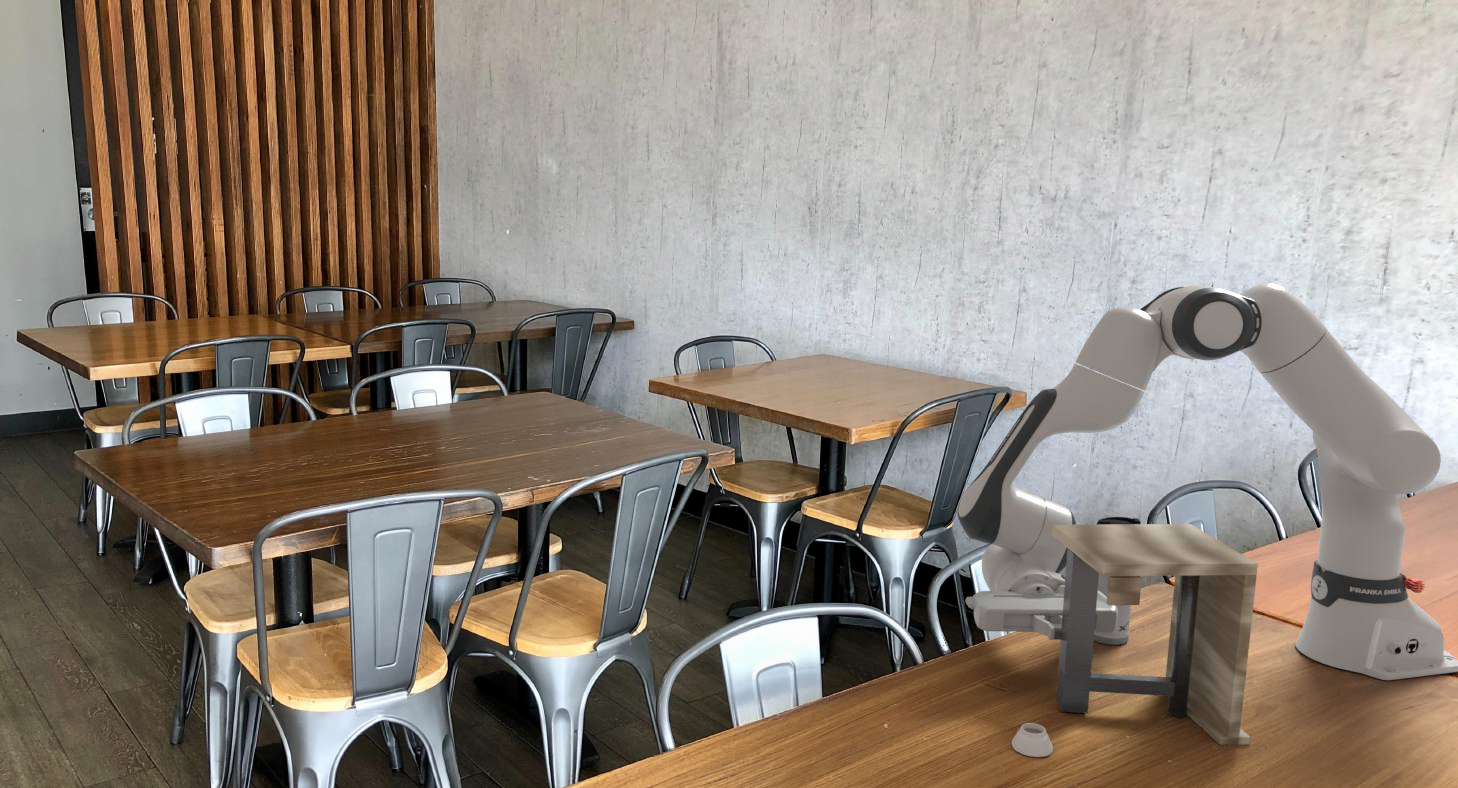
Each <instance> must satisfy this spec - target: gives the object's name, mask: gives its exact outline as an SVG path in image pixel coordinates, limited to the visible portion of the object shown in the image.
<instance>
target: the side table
mask: <svg viewBox="0 0 1458 788" xmlns="http://www.w3.org/2000/svg"><path fill="white" fill-rule="evenodd" d="M1052 536H1054V537H1055V538H1056V539H1057V540H1059V541H1060V542H1061V543H1062V544H1063V545H1065V546H1066V547H1067V548H1068V549H1070V550H1071V551H1072V552H1073V553H1075V554H1076V555H1077V556H1078V557H1080V558H1081V559H1082V560H1083V561H1085V562H1086V563H1087V564H1088V565H1089V566H1091V567H1092V568H1093V569H1094V570H1096V571H1097V572H1098V573H1099V574H1101V575H1102V576H1109V579H1108V591H1107V603H1106V604H1107V605H1131V606H1140V602H1141V593H1142V592H1141V590H1142V577H1149V576H1151V577H1152V576H1153V577H1158V576H1160V577H1164V576H1166V577H1167V576H1170V577H1171V576H1172V577H1174V586H1173V595H1172V607H1171V616H1170V618H1171V619H1170V628H1169V639H1168V646H1167V647H1168V648H1167V649H1168V650H1167V657H1166V658H1167V660H1166V672H1165V677H1171V669H1172V658H1173V648H1174V637H1175V627H1176V616H1177V605H1178V595H1179V584H1180V576H1184V575H1200V581H1199V591H1198V601H1197V611H1196V622H1195V632H1194V642H1193V652H1192V662H1191V673H1190V683H1189V693H1188V703H1187V714H1186V716H1188V717H1190V719H1191V720H1193V721H1194V723H1196V724H1197V725H1198V726H1199V727H1200V728H1201V727H1202V728H1203V729H1204V730H1203V731H1204V732H1206V733H1207V734H1208V733H1209V734H1208V735H1209V736H1210V738H1212V739H1213V740H1214V741H1215V742H1216V743H1217V744H1218V745H1220V746H1226V744H1227V746H1237V745H1238V746H1239V745H1240V746H1241V745H1250V744H1251V743H1250V742H1251V736H1249V734H1248V733H1246V732H1245V730H1244V729H1242V728H1241V724H1242V717H1243V716H1242V715H1243V705H1244V696H1245V687H1246V678H1247V677H1246V676H1247V668H1248V660H1249V652H1250V651H1249V650H1250V640H1251V633H1252V632H1251V631H1252V620H1253V614H1254V602H1255V592H1256V584H1257V576H1258V575H1257V574H1258V567H1259V563H1258V562H1256V561H1254V560H1253V559H1251V558H1249V557H1247V556H1246V555H1244V554H1243V553H1241V552H1239V551H1237V550H1236V549H1234V548H1233V547H1230V546H1229V545H1227V544H1225V543H1224V542H1221V541H1220V540H1218V539H1217V538H1215V537H1213V536H1212V535H1210V534H1209V533H1206V532H1204V531H1203V530H1202V529H1200V528H1198V527H1196V526H1194V525H1192V524H1191V523H1167V524H1166V523H1158V524H1157V523H1154V524H1153V523H1152V524H1151V523H1150V524H1149V523H1147V524H1146V523H1145V524H1144V523H1143V524H1142V523H1141V524H1106V525H1097V524H1076V525H1053V526H1052ZM1202 728H1201V729H1202Z"/></svg>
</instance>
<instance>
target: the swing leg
mask: <svg viewBox="0 0 1458 788" xmlns="http://www.w3.org/2000/svg"><path fill="white" fill-rule="evenodd" d="M1065 575H1066V576H1065V589H1064V602H1063V615H1062V629H1061V640H1060V645H1059V659H1058V671H1057V684H1056V685H1057V686H1056V697H1055V701H1056V703H1057V705H1058V707H1059V709H1060V712H1064V713H1065V712H1066V713H1077V714H1078V713H1081V714H1089V713H1088V712H1089V702H1090V692H1091V693H1095V692H1096V693H1108V694H1109V693H1110V694H1124V695H1125V694H1126V695H1127V694H1129V695H1130V694H1131V695H1141V696H1142V695H1143V696H1161V697H1162V696H1163V697H1168V696H1169V697H1168V703H1167V713H1168V714H1170V715H1172V716H1175V717H1186V716H1187V703H1188V693H1189V683H1190V673H1191V662H1192V652H1193V642H1194V632H1195V622H1196V611H1197V601H1198V591H1199V581H1200V575H1184V576H1180V584H1179V595H1178V605H1177V616H1176V627H1175V637H1174V648H1173V658H1172V669H1171V677H1166V676H1153V675H1150V676H1149V675H1133V674H1115V673H1113V674H1112V673H1099V672H1092V665H1093V664H1092V663H1093V655H1094V654H1093V653H1094V642H1095V641H1094V629H1095V617H1096V604H1097V592H1098V580H1099V573H1098V572H1097V571H1096V570H1094V569H1093V568H1092V567H1091V566H1089V565H1088V564H1087V563H1086V562H1085V561H1083V560H1082V559H1081V558H1080V557H1078V556H1077V555H1076V554H1075V553H1073V552H1072V551H1071V550H1070V549H1067V562H1066V567H1065Z"/></svg>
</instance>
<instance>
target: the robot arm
mask: <svg viewBox="0 0 1458 788" xmlns="http://www.w3.org/2000/svg"><path fill="white" fill-rule="evenodd" d="M1237 352H1242V354H1244V355H1245V356H1246V357H1247V358H1248V359H1249V360H1250V362H1251V363H1252V365H1253V366H1254V367H1255V368H1256V369H1257V371H1258V372H1259V373H1260V374H1261V375H1262V377H1263V378H1264V380H1266V382H1267V383H1268V384H1269V385H1270V386H1271V388H1273V390H1274V391H1275V393H1277V395H1278V396H1279V397H1280V398H1281V400H1282V401H1283V402H1284V404H1286V405H1287V407H1288V408H1289V409H1290V410H1291V411H1292V412H1293V414H1294V415H1296V416H1297V417H1298V418H1299V419H1300V420H1301V421H1302V422H1303V423H1305V425H1306V426H1307V427H1308V428H1309V429H1310V430H1311V431H1312V440H1313V442H1314V445H1315V448H1316V449H1315V450H1316V453H1317V460H1318V461H1317V462H1318V475H1319V476H1318V477H1319V487H1320V496H1321V523H1320V532H1319V541H1318V542H1319V543H1318V550H1317V559H1316V560H1314V561H1313V566H1312V567H1313V569H1312V574H1311V584H1310V586H1311V587H1310V594H1311V595H1310V596H1311V598H1310V602H1309V606H1308V610H1307V614H1306V618H1305V620H1304V624H1303V626H1302V629H1301V630H1300V632H1299V635H1298V638H1297V640H1296V641H1295V643H1294V644H1295V645H1294V646H1295V648H1296V649H1297V650H1298V651H1299V652H1300V653H1302V654H1303V655H1305V656H1306V657H1308V658H1310V659H1311V660H1314V661H1315V662H1319V663H1321V664H1324V665H1326V666H1329V667H1332V668H1337V669H1341V670H1345V671H1350V672H1355V673H1358V674H1363V675H1365V676H1369V677H1372V678H1376V679H1378V680H1383V681H1394V680H1401V679H1402V680H1403V679H1410V678H1416V677H1417V678H1418V677H1425V676H1434V675H1441V674H1450V673H1458V659H1457V657H1455V656H1454V655H1453V654H1452V653H1450V652H1448V651H1447V650H1446V649H1445V639H1444V633H1443V629H1442V627H1441V626H1440V624H1439V622H1437V620H1436V619H1434V618H1433V617H1432V616H1430V615H1429V614H1428V612H1426V611H1425V610H1423V609H1422V608H1421V607H1420V606H1418V605H1417V604H1416V603H1415V602H1414V601H1413V600H1411V599H1410V598H1409V595H1408V591H1407V590H1410V591H1412V592H1413V593H1415V594H1420V593H1422V592H1423V591H1424V590H1425V587H1426V585H1425V584H1426V583H1424V581H1423V580H1420V579H1418V578H1416V577H1414V576H1409V577H1407V576H1406V575H1404V574H1403V573H1402V572H1400V571H1401V564H1402V558H1403V549H1404V541H1405V534H1406V524H1405V519H1404V517H1403V515H1402V511H1401V508H1400V504H1399V496H1398V495H1408V494H1412V493H1413V494H1414V493H1416V492H1419V491H1422V490H1423V489H1425V488H1427V487H1428V486H1429V485H1430V484H1431V483H1432V482H1433V481H1434V480H1435V478H1436V477H1437V475H1438V474H1439V471H1440V468H1441V461H1442V460H1441V453H1440V449H1439V447H1438V445H1437V443H1436V442H1435V441H1434V440H1433V439H1432V438H1431V436H1430V435H1428V433H1427V432H1425V431H1424V430H1423V429H1422V428H1421V427H1420V426H1419V425H1418V424H1417V422H1415V421H1414V419H1413V418H1412V417H1410V416H1409V414H1408V413H1407V412H1406V411H1405V410H1404V409H1403V408H1402V407H1400V405H1399V404H1398V403H1397V402H1396V401H1394V399H1393V398H1392V397H1391V396H1390V395H1389V394H1388V393H1387V392H1385V390H1384V389H1382V388H1381V387H1380V386H1379V384H1377V383H1376V382H1375V381H1374V380H1373V379H1372V378H1370V376H1369V375H1367V373H1366V372H1365V371H1363V370H1362V369H1361V368H1360V366H1359V365H1358V364H1357V363H1356V362H1355V361H1354V360H1353V358H1352V357H1351V356H1350V355H1349V353H1348V352H1347V351H1346V350H1345V349H1344V347H1342V345H1341V344H1340V343H1339V342H1338V340H1337V339H1336V338H1335V337H1334V336H1333V335H1332V333H1331V332H1330V331H1329V330H1328V328H1327V327H1326V326H1325V325H1324V323H1322V321H1321V320H1320V319H1319V318H1318V317H1317V316H1316V315H1315V313H1313V312H1312V311H1311V310H1310V308H1309V307H1307V306H1306V305H1305V304H1304V303H1303V302H1302V301H1301V300H1300V299H1298V297H1296V296H1295V295H1294V294H1293V293H1291V292H1290V291H1289V290H1287V289H1286V288H1285V287H1284V286H1281V285H1279V284H1277V283H1269V282H1268V283H1260V284H1257V285H1255V286H1251V287H1249V288H1248V289H1245V290H1244V291H1243V292H1242V293H1241V294H1238V293H1235V292H1233V291H1230V290H1227V289H1224V288H1220V287H1219V288H1218V287H1211V286H1205V285H1189V286H1178V287H1174V288H1171V289H1168V290H1166V291H1164V292H1161V293H1160V294H1158V295H1157V296H1155V298H1153V300H1151V301H1150V302H1148V303H1147V304H1146V305H1144V306H1143V307H1140V309H1139V308H1137V307H1130V306H1120V307H1119V306H1118V307H1114V308H1112V309H1110V310H1108V311H1107V312H1105V313H1104V315H1102V317H1101V318H1100V320H1099V321H1098V322H1097V324H1096V325H1095V327H1094V329H1093V330H1092V332H1091V333H1090V335H1089V336H1088V338H1087V340H1086V341H1085V343H1084V345H1083V346H1082V348H1081V349H1080V352H1079V354H1078V356H1077V358H1076V361H1075V363H1074V365H1073V366H1072V368H1071V370H1070V372H1069V373H1068V374H1067V375H1066V376H1065V378H1063V380H1062V381H1060V382H1059V383H1058V384H1057V385H1056V386H1054V387H1052V388H1047V389H1043V390H1041V391H1039V392H1038V393H1037V394H1036V395H1035V396H1034V397H1033V398H1032V400H1031V401H1030V402H1029V403H1028V404H1027V406H1026V407H1025V408H1024V410H1023V411H1022V413H1021V414H1020V415H1019V417H1018V418H1017V419H1016V421H1015V422H1014V424H1013V425H1012V427H1011V429H1010V430H1009V431H1008V433H1007V435H1005V437H1004V439H1003V440H1002V442H1001V444H1000V445H999V446H998V447H997V449H996V451H995V452H994V454H993V455H992V456H991V458H990V460H989V461H988V462H987V464H986V465H985V466H984V468H983V469H982V471H981V472H980V473H978V475H977V476H976V478H975V479H974V480H973V481H972V482H971V483H970V485H968V487H967V489H966V490H965V492H964V494H963V495H962V496H961V499H960V501H959V504H958V507H957V513H956V514H957V518H958V521H959V523H960V526H961V528H962V530H963V531H964V532H965V534H966V535H967V537H968V538H969V539H971V540H974V541H978V542H981V543H985V544H989V546H988V547H987V548H986V549H985V551H984V553H983V555H982V558H981V571H982V572H981V573H982V577H983V579H984V582H985V585H986V586H987V588H988V589H989V590H981V591H978V592H975V594H973V596H967V597H966V598H965V603H966V605H967V606H968V608H970V609H971V610H973V617H974V622H975V624H976V627H977V628H978V629H980V630H982V631H984V632H1005V633H1006V632H1010V633H1011V632H1012V633H1013V632H1018V633H1019V632H1020V633H1022V632H1023V633H1024V632H1025V633H1039V634H1041V635H1043V636H1046V637H1047V638H1048V640H1052V641H1053V640H1056V641H1057V640H1060V641H1061V629H1062V615H1063V602H1064V589H1065V576H1066V574H1063V573H1061V572H1062V571H1063V570H1065V569H1066V562H1067V549H1068V548H1067V547H1066V546H1065V545H1063V544H1062V543H1061V542H1060V541H1059V540H1057V539H1056V538H1055V537H1054V536H1052V526H1053V525H1077V522H1076V518H1075V516H1074V514H1073V512H1072V510H1071V509H1070V508H1069V507H1067V506H1064V505H1062V504H1060V503H1057V502H1055V501H1052V500H1049V499H1047V498H1045V497H1044V496H1043V497H1042V496H1039V495H1035V494H1033V493H1030V492H1028V491H1026V490H1023V489H1021V488H1018V487H1016V486H1013V484H1014V481H1015V480H1016V478H1018V475H1019V474H1020V472H1021V471H1022V470H1023V469H1024V467H1025V465H1026V464H1027V463H1028V461H1029V459H1030V458H1031V456H1032V455H1033V453H1034V452H1035V451H1036V449H1037V447H1039V445H1040V444H1041V443H1043V441H1044V440H1046V439H1047V438H1050V437H1052V436H1055V435H1058V434H1060V435H1061V434H1067V433H1068V434H1069V433H1077V434H1081V433H1082V434H1093V433H1094V434H1095V433H1103V432H1104V433H1105V432H1108V431H1112V430H1114V429H1117V428H1119V427H1121V426H1122V425H1124V424H1126V423H1127V422H1128V421H1129V420H1130V419H1131V418H1132V416H1133V414H1134V413H1135V412H1136V411H1137V408H1138V406H1139V404H1140V402H1141V401H1142V398H1143V396H1144V393H1145V392H1144V391H1146V389H1147V387H1148V385H1149V383H1150V380H1151V377H1152V375H1153V373H1154V372H1155V370H1156V369H1157V368H1158V366H1159V365H1160V364H1161V363H1162V362H1163V361H1164V360H1165V359H1167V358H1169V357H1170V356H1177V357H1180V358H1184V359H1189V360H1201V361H1215V360H1220V359H1223V358H1226V357H1228V356H1229V357H1230V356H1231V355H1233V354H1236V353H1237ZM1106 603H1107V597H1106V596H1105V595H1104V594H1103V593H1101V592H1100V591H1098V592H1097V604H1096V617H1095V629H1094V633H1113V632H1114V631H1115V630H1116V628H1117V623H1118V609H1117V607H1116V606H1115V605H1107V604H1106Z"/></svg>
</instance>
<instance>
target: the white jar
mask: <svg viewBox="0 0 1458 788" xmlns="http://www.w3.org/2000/svg"><path fill="white" fill-rule="evenodd" d="M1011 747H1012V748H1013V750H1015V751H1016V752H1018V753H1020V754H1021V755H1023V756H1028V757H1033V758H1041V757H1047V756H1050V755H1051V754H1052V753H1053V751H1054V746H1053V743H1052V742H1051V739H1050V736H1049V734H1048V733H1047V729H1046V727H1045V726H1043V725H1040V724H1039V723H1035V722H1026V723H1022V724H1021V726H1020V728H1019V729H1018V730H1017V732H1016V733H1015V735H1014V737H1013V738H1012V739H1011Z"/></svg>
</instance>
